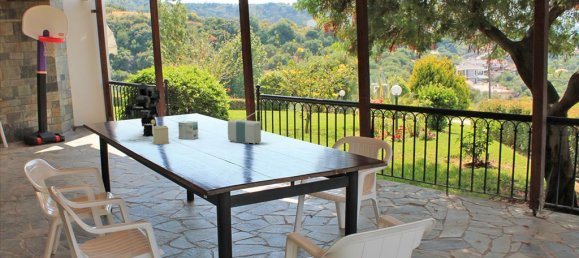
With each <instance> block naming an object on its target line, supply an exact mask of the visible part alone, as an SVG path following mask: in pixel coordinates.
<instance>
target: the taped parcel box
mask: <svg viewBox="0 0 579 258" xmlns="http://www.w3.org/2000/svg"><path fill="white" fill-rule="evenodd" d="M258 112H259V110H257V111H255V112H254V113H251V114H250V115H248V116H246V117H244V118H242V119H236V118H235V119H231V120H227V140H228V141H229V142H231V141H232V143H233V142H235V143H241V142H242V144H249V143H253V144H252V145H254V144H255V143H257V144H259V143H258V142H260V143H261V141H262V127H261V126H262V122H261V121H255V120H246V119H247V118H250V117H251V116H252V115H255V113H258ZM255 145H256V144H255Z"/></svg>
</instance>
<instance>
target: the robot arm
mask: <svg viewBox="0 0 579 258" xmlns="http://www.w3.org/2000/svg"><path fill="white" fill-rule="evenodd" d="M137 90H138V91H137V92H138V95H137V96H136V106H134V104H126V106H125V110H126V114H127V115H130V117H131V119H133V118H134V116H135V114H134V113H135V111H138V112H139V113H142V116H141V119H140V122H141V127H143V134H142V136H145V137H146V136H147V137H152V136H153V134H152V123H151V120H155V122H156V123H155V124H154V126H158V124H157V119H156V117H155V115H157V114H158V111H159V110H158V105H157V104H159V103H160V101H161V100H162V93H161V91H160V90H159V89H158V88H157V86H153V85H152V86H147V84H146V83H143V82H142V83H141V84H138V85H137Z"/></svg>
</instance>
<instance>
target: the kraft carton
mask: <svg viewBox="0 0 579 258" xmlns="http://www.w3.org/2000/svg"><path fill="white" fill-rule="evenodd" d="M152 136H153V135H152ZM153 143H154V145H166V144H169V143H170V142H169V127H168V126H167V125H157V126H154V136H153Z"/></svg>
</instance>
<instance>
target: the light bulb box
mask: <svg viewBox="0 0 579 258" xmlns="http://www.w3.org/2000/svg"><path fill="white" fill-rule="evenodd" d="M177 123H178V125H177V126H178V127H177V128H178V139H179V140H195V139H199V123H198V121H190V120H189V121H188V120H182V121H178V122H177Z"/></svg>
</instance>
